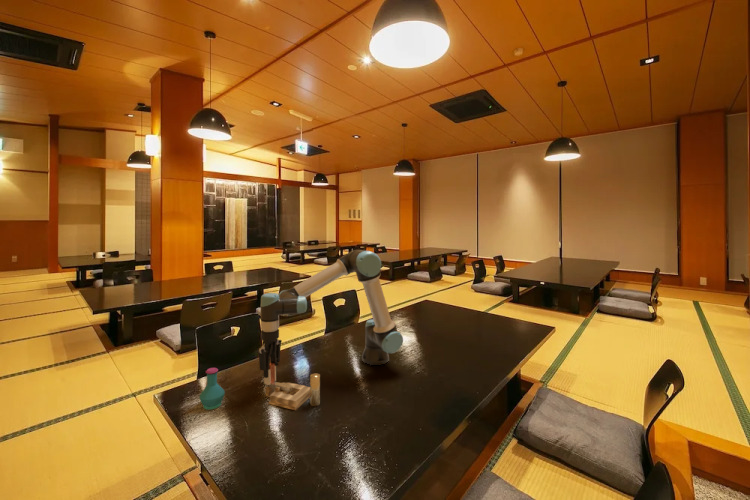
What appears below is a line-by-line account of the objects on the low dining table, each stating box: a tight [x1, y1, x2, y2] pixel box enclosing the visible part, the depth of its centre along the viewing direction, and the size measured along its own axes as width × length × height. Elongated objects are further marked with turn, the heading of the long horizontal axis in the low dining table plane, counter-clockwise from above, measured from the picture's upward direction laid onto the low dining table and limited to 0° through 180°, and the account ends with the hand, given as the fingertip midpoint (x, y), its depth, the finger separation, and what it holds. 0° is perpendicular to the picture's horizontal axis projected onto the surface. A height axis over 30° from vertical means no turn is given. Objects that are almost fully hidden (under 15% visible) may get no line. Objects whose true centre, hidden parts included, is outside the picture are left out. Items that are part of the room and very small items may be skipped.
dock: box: [265, 382, 310, 411], centre depth 139 cm, size 18×13×5 cm
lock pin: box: [267, 362, 293, 392], centre depth 139 cm, size 12×3×10 cm, turn 70°
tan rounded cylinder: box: [309, 372, 321, 407], centre depth 134 cm, size 4×4×12 cm
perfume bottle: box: [199, 367, 226, 410], centre depth 132 cm, size 9×9×15 cm
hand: (270, 381), depth 141 cm, fingers closed on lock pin, 3 cm apart
